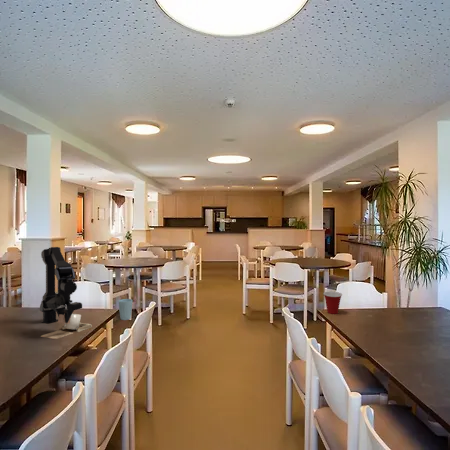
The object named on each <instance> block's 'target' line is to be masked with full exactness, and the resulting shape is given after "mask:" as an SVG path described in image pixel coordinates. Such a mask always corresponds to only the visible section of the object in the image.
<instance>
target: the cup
mask: <svg viewBox="0 0 450 450" xmlns="http://www.w3.org/2000/svg"><path fill="white" fill-rule="evenodd" d="M117 302H118V309H119V317H120V320H122V321H127V320H131V318H132V309H133V302H134V301H133V299H131V298H124V299H119V300H118V301H117Z"/></svg>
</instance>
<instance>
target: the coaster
mask: <svg viewBox="0 0 450 450" xmlns="http://www.w3.org/2000/svg"><path fill="white" fill-rule="evenodd" d="M73 334H74V332H72V331H64V330H54V331H51V332H47V333H45V334H42V335H40V337H42V338H45V339H51V340H52V339H53V340H58V339H61V338H65V337H66V336H70V335H73Z"/></svg>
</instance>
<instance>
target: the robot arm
mask: <svg viewBox="0 0 450 450" xmlns="http://www.w3.org/2000/svg"><path fill="white" fill-rule="evenodd" d="M40 254H41V256H40V257H41V259H42V261H43V263H44V265H45V293H44V294H43V295H42V297H41V299H42V300H41V302H40V305H39V311H40V312H41V313H42V320H41V321H40V322H41V323H45V324H51V323H54V322H58V319H59V315H60V314H63V315H65V323H68V321H69V319H70V317H71V315H72V314H74V313H73V312H75V311H76V310H80V309H83V303H82V302H78V301H75V302H73V300H72V299H71V295H73V293H75V292H76V290H77V289H78V288H77V287H78V286H77V283H76V282H75V281H73V280H76V272H75V271H74V268H73V266H72V265H71V263H70V262H68V261H66V260H65V258H64V255H63V253H62V250H61V247H59V246H51V247H48V248H45V249H43V250H42V251H41V253H40ZM56 280H57V292H56ZM57 316H58V317H57ZM57 318H58V319H57Z"/></svg>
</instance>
